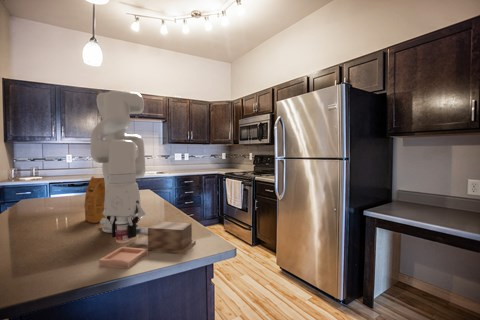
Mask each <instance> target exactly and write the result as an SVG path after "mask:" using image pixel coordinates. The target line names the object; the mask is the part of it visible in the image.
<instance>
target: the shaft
mask: <svg viewBox="0 0 480 320" xmlns="http://www.w3.org/2000/svg"><path fill="white" fill-rule="evenodd" d="M137 236H143V237H148V227H141V226H139V225H138V223H136V236H134V237H132V239H133V238H137Z"/></svg>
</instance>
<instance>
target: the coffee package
mask: <svg viewBox="0 0 480 320" xmlns="http://www.w3.org/2000/svg"><path fill="white" fill-rule="evenodd" d="M84 196H85V197H84V221H86V222H88V223H90V224H91V223H92V224H97V223H100V221H101V219H102V218H106V217H105V216H104V215H103V213H102V212H103V211H104V201H105V182H104V176H103V177H102V176H101V177H96V176H94V175H93V176H91V178H90V180H89V183H88V186H87V187H86V190H85V195H84Z"/></svg>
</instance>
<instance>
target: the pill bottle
mask: <svg viewBox="0 0 480 320" xmlns="http://www.w3.org/2000/svg"><path fill="white" fill-rule="evenodd" d="M116 219H117V221H116V222H115V229H116V237H115V241H116V243H119V244H124V243H128V242H131V241H132V240H133V238H130V239H129V238H128V229H127V227H128V226H129V222H128V218H127V217H116Z"/></svg>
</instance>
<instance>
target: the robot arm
mask: <svg viewBox="0 0 480 320" xmlns="http://www.w3.org/2000/svg"><path fill="white" fill-rule="evenodd" d="M96 105H97V109H98V113H99V115H100V117H101V119H102V120H100V121H99V122H98V123H97V124H96V125H95V126H94V128H93V129H92V131H91V135H90V157H91V159H92V160H93V161H94V162H95V163H98V164H102V165H101V169H102V175H103V178H104V183H105V201H104V211H103V212H102V213H103V215H104V216H105V217H106V218H102V219H101V221H100V222H99V224H102V225H103V226H102V227H101V229H102V232H103V233H107V234H110V233H111V238H116V229H115V222H116V221H117V219H116V217H127V218H128V222H129V226H128V227H127V229H128V238H129V239H130V238H132V237H134V236H136V224H138V223H139V221H140V220H141V219H142V218H143V217H144V216H145V215H146V213H145V210H143V208H142V206H141V205H142V204H141V195H140V189H139V184H138V183H137V182H136V180H137V179H140V178H143V177H144V176H145V175H146V157H145V153H146V151H145V142H144V138H143V137H142V136H141V135H139V134H130V133H129V134H127V132H126V129H128V128H129V126H130V124H131V118H130V117H131V116H130V115H131V114H132V115H142V114H143V112H144V110H145V101H144V98H143V96H142V94H140V93H138V92H135V91H134V92H133V91H123V90H110V91H108V92H100V93H98V94H97V96H96ZM103 138H104V139H103ZM136 237H137V236H136ZM134 238H135V237H134ZM132 239H133V238H132Z"/></svg>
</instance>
